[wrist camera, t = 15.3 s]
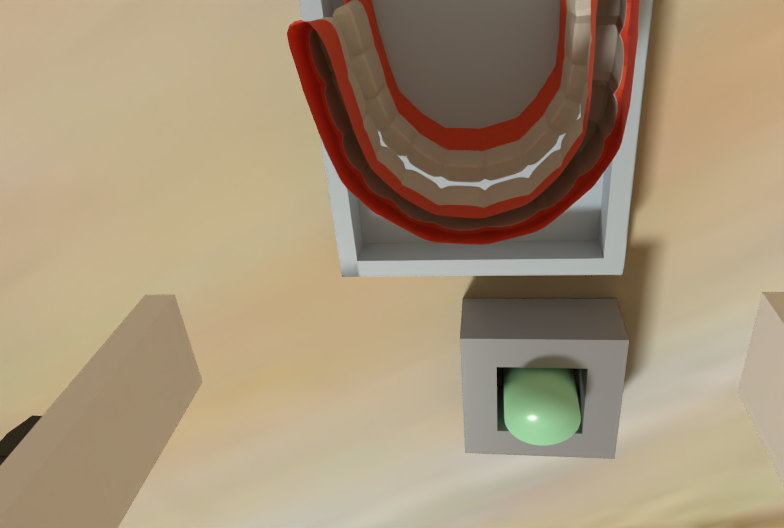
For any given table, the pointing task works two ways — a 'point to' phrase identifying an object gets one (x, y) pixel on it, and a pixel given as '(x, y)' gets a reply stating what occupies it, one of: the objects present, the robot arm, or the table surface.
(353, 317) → the table surface
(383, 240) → the grey tray
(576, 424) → the button
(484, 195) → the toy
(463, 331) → the grey square holder
